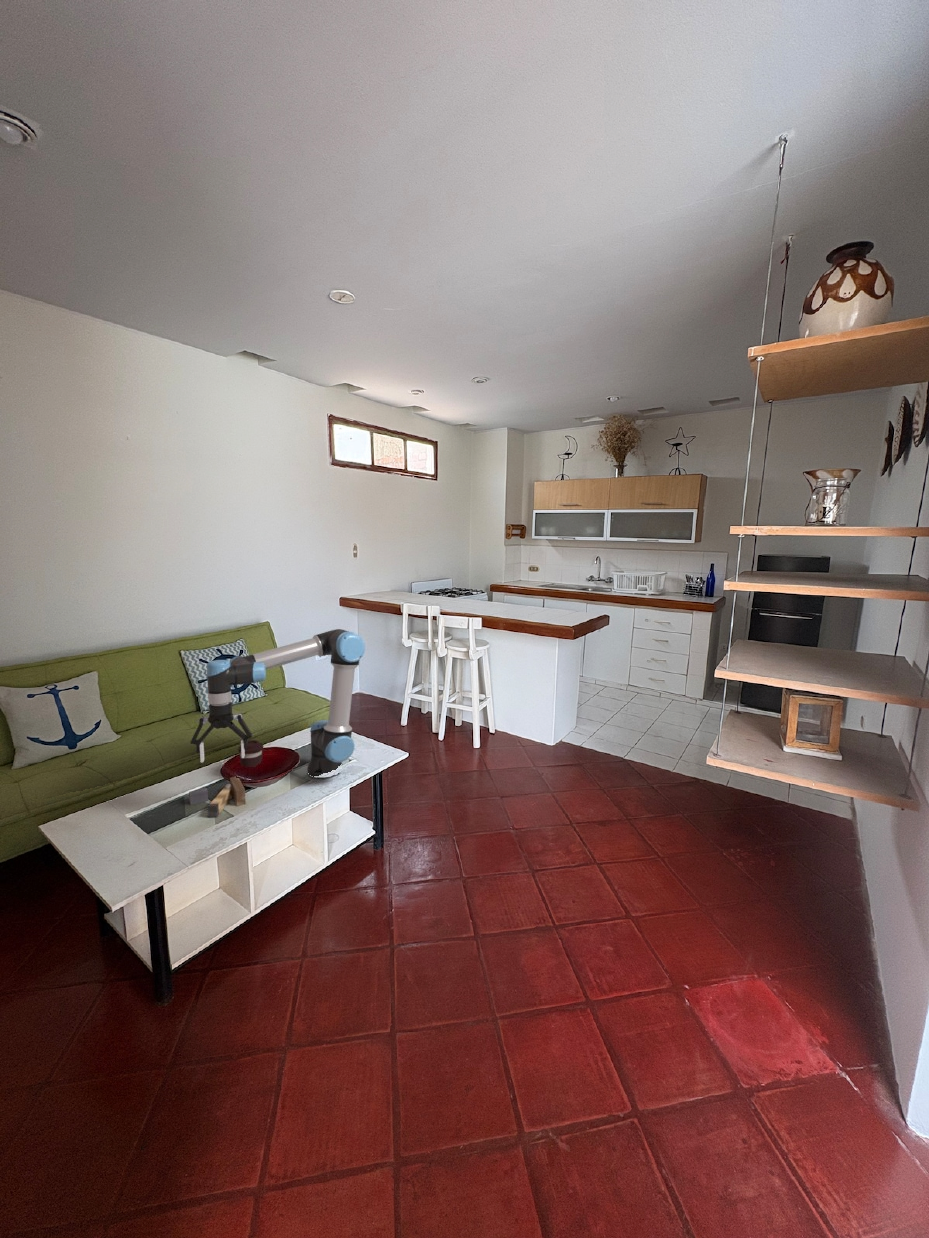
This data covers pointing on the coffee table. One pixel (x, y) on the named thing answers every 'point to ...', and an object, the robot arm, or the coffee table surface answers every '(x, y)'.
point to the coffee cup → (251, 754)
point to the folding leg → (220, 801)
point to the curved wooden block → (237, 791)
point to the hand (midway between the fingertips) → (223, 758)
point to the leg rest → (198, 796)
